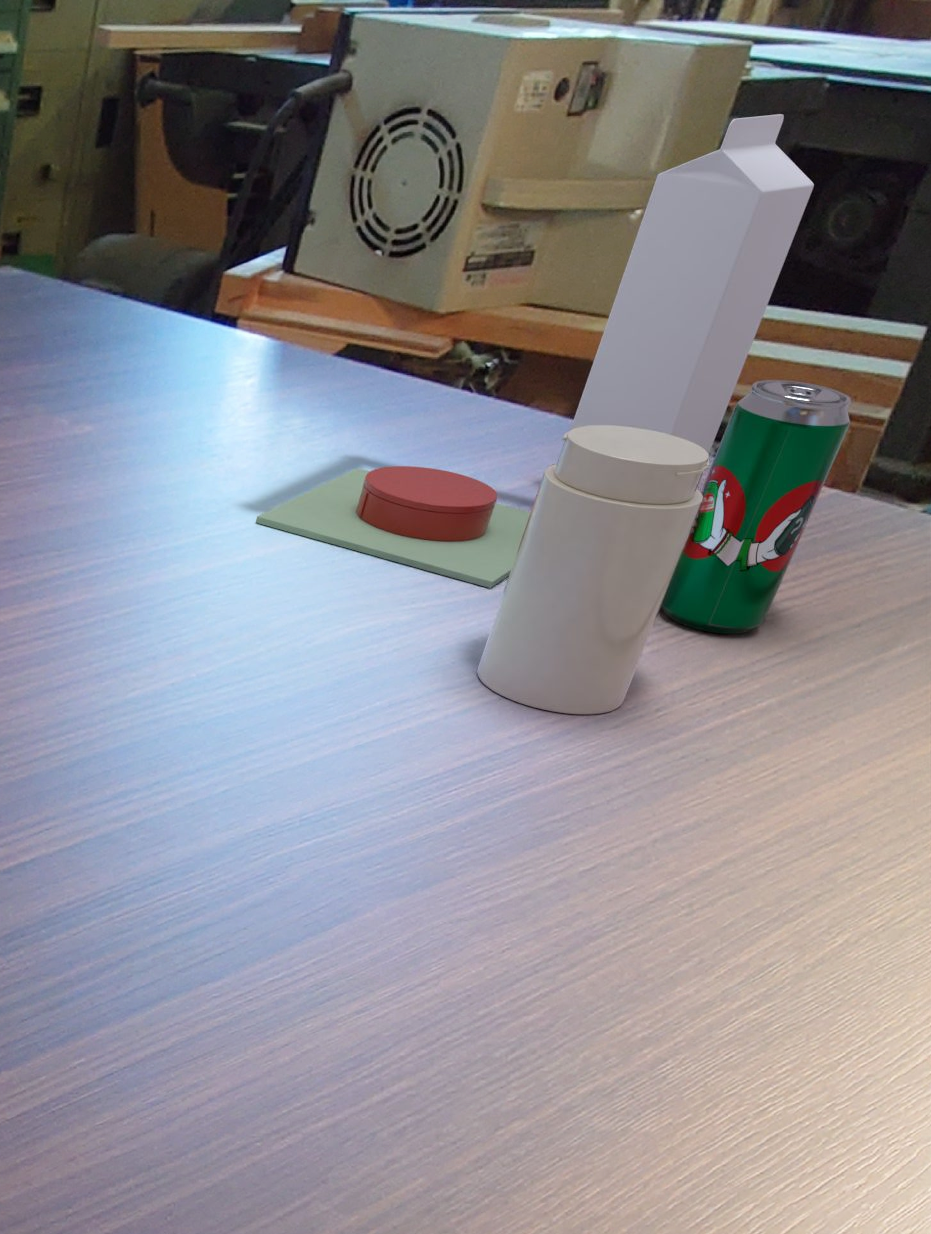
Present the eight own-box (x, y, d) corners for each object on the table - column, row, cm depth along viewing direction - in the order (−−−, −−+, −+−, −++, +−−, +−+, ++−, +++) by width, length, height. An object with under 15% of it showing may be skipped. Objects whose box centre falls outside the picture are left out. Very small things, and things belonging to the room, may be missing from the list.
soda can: (761, 614, 91) (859, 389, 84) (758, 645, 87) (861, 412, 81) (658, 594, 93) (745, 371, 86) (651, 623, 89) (742, 394, 83)
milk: (545, 499, 106) (674, 112, 94) (597, 484, 109) (729, 106, 97) (638, 528, 102) (786, 126, 90) (690, 511, 105) (840, 120, 93)
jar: (626, 676, 83) (720, 438, 77) (619, 726, 79) (719, 477, 72) (484, 647, 86) (563, 414, 79) (469, 694, 81) (552, 449, 74)
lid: (383, 540, 98) (393, 505, 96) (336, 498, 104) (345, 464, 103) (508, 543, 98) (520, 508, 97) (454, 501, 104) (464, 467, 103)
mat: (577, 530, 101) (580, 524, 101) (490, 588, 93) (492, 581, 93) (354, 473, 109) (356, 467, 109) (255, 522, 101) (256, 516, 100)
